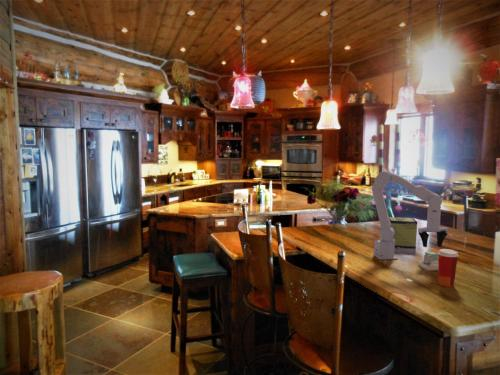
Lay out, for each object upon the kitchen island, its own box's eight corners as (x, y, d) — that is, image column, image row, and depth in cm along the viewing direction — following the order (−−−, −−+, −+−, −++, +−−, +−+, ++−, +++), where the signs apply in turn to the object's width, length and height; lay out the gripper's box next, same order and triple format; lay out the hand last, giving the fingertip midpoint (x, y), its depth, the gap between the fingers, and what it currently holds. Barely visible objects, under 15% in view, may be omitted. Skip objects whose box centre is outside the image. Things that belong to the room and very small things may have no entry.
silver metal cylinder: (427, 268, 177) (427, 257, 176) (421, 265, 181) (422, 255, 180) (435, 267, 177) (435, 257, 177) (429, 265, 181) (430, 254, 181)
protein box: (416, 249, 211) (417, 221, 210) (386, 247, 214) (388, 220, 213) (412, 244, 222) (413, 217, 220) (384, 242, 225) (385, 216, 223)
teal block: (429, 264, 184) (430, 254, 184) (424, 261, 188) (425, 252, 188) (437, 264, 185) (437, 253, 185) (432, 261, 189) (432, 251, 188)
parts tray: (427, 270, 175) (427, 265, 175) (418, 265, 182) (418, 261, 182) (451, 269, 177) (451, 264, 177) (441, 264, 184) (441, 260, 184)
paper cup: (450, 281, 162) (452, 248, 160) (460, 287, 154) (462, 253, 153) (431, 281, 162) (433, 248, 160) (441, 287, 154) (443, 253, 152)
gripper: (424, 221, 179) (423, 249, 181) (452, 220, 182) (451, 248, 183) (416, 218, 186) (414, 245, 188) (443, 217, 188) (441, 244, 190)
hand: (432, 246), depth 186 cm, fingers open, 7 cm apart
